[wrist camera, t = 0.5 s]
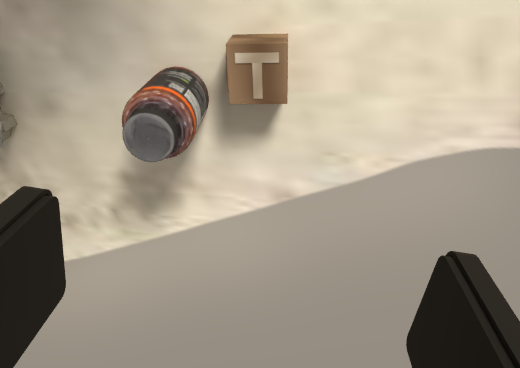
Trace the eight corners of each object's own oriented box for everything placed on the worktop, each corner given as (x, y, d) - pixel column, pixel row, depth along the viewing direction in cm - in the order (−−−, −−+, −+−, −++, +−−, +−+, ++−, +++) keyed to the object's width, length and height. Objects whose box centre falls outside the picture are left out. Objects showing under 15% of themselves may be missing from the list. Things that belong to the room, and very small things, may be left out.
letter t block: (234, 88, 42) (227, 104, 37) (231, 34, 39) (224, 44, 35) (287, 88, 41) (287, 104, 37) (287, 33, 39) (287, 43, 35)
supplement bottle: (155, 125, 44) (116, 174, 34) (145, 66, 41) (99, 101, 31) (213, 123, 43) (190, 173, 33) (206, 63, 41) (180, 98, 31)
